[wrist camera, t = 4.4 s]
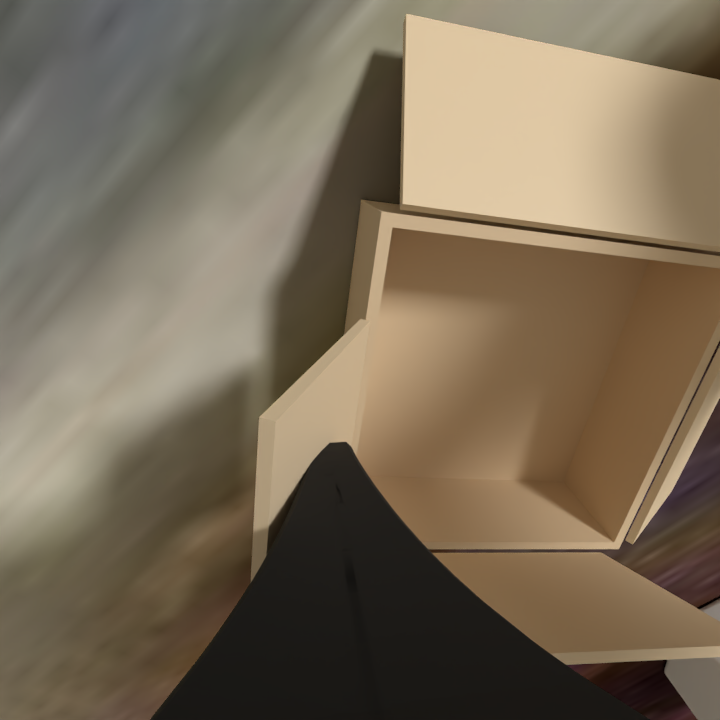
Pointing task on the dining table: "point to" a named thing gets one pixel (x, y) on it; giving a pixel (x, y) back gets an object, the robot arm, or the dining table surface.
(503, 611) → the flap
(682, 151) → the flap
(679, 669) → the jar
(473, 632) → the robot arm
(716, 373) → the flap
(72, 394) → the dining table surface
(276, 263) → the dining table surface
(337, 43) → the dining table surface
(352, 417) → the flap
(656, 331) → the carton
